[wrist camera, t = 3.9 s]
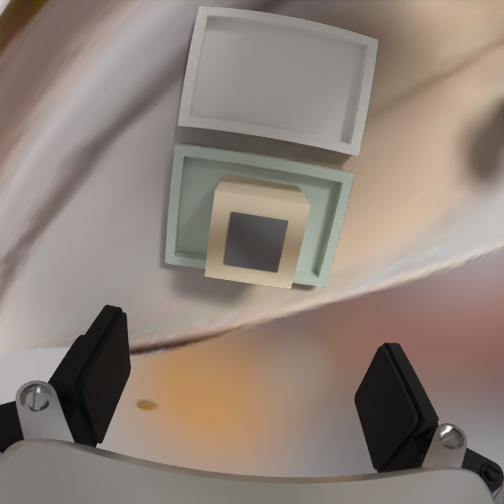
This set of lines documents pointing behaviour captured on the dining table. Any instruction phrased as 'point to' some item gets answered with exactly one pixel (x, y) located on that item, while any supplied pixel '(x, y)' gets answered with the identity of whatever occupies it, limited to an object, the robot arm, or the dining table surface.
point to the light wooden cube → (256, 231)
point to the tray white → (278, 78)
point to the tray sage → (261, 168)
